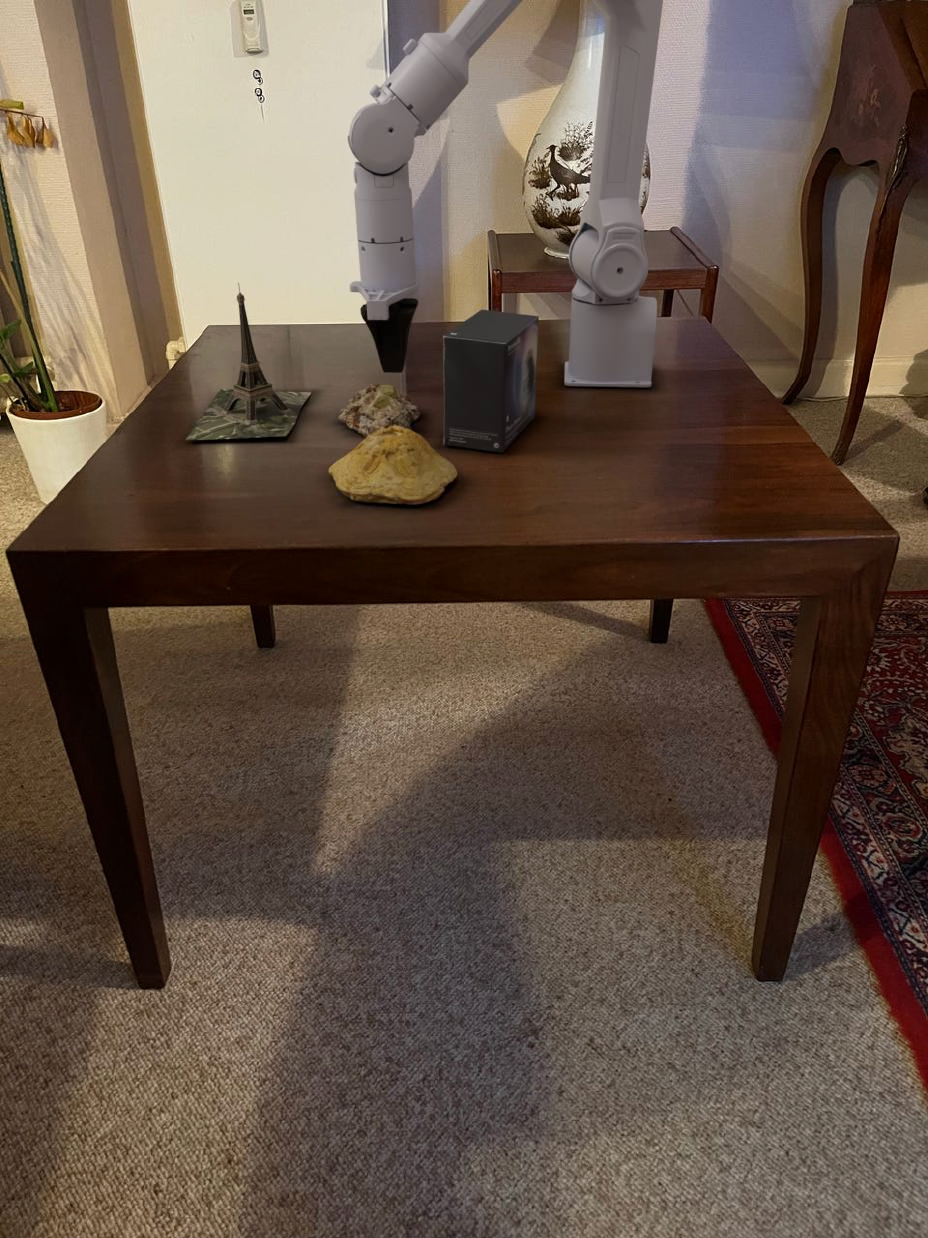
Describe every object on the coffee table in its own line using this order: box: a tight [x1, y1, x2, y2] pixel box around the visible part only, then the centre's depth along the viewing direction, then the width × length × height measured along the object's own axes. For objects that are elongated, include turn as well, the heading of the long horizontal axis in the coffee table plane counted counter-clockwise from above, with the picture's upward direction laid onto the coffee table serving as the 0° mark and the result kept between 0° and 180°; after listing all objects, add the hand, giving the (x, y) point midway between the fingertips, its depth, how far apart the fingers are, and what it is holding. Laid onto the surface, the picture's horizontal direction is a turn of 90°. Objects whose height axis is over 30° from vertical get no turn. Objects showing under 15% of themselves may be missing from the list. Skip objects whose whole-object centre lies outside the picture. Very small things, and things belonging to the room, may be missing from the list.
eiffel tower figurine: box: [185, 282, 313, 441], centre depth 93 cm, size 15×10×13 cm
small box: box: [442, 309, 540, 454], centre depth 89 cm, size 11×6×10 cm, turn 160°
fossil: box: [328, 425, 458, 506], centre depth 80 cm, size 11×6×10 cm
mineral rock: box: [337, 383, 421, 438], centre depth 93 cm, size 11×4×8 cm
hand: (393, 370), depth 102 cm, fingers closed
